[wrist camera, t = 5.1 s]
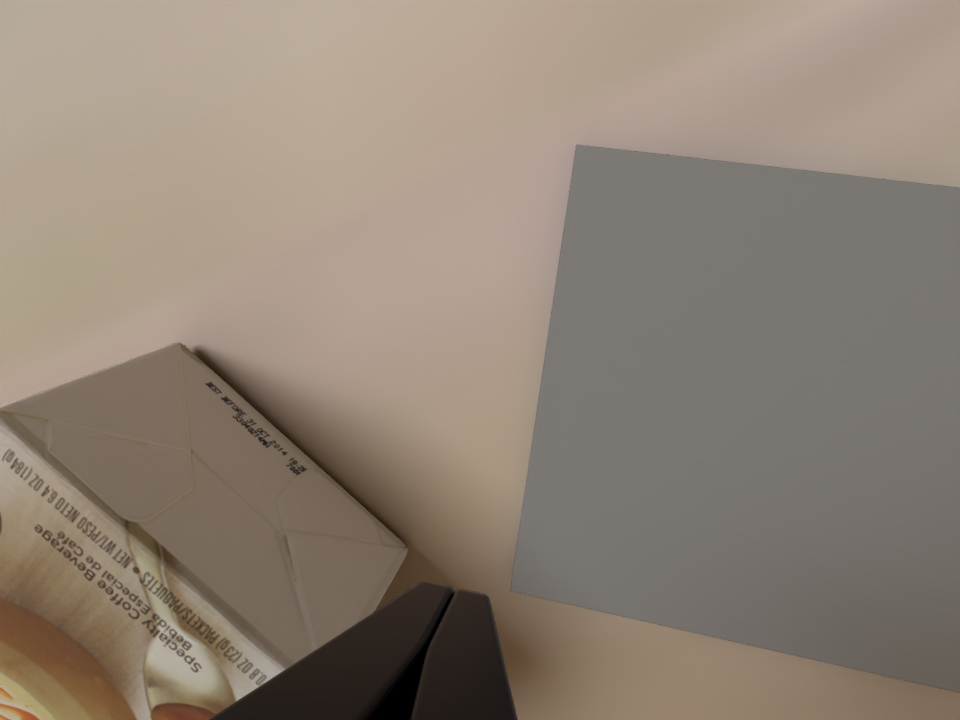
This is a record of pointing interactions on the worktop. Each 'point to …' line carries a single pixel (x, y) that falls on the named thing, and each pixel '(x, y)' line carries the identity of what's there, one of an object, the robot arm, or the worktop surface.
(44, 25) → the worktop surface
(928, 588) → the mat
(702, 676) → the worktop surface
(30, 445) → the coffee box
